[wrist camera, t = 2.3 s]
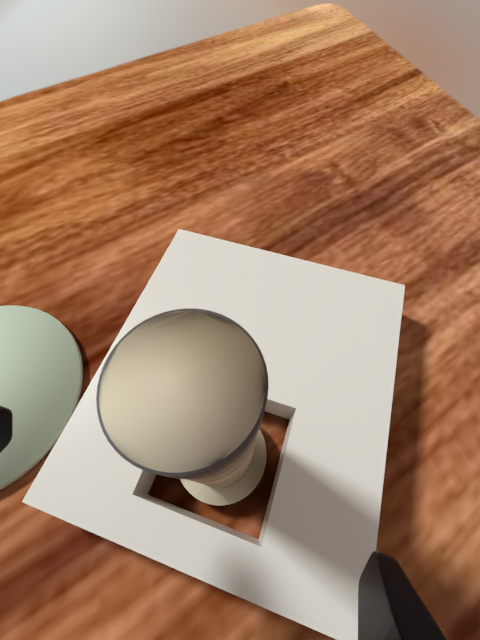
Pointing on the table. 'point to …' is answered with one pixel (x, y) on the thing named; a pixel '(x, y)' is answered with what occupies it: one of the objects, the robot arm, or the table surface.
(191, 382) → the key peg
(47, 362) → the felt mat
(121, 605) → the table surface
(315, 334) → the socket plate
